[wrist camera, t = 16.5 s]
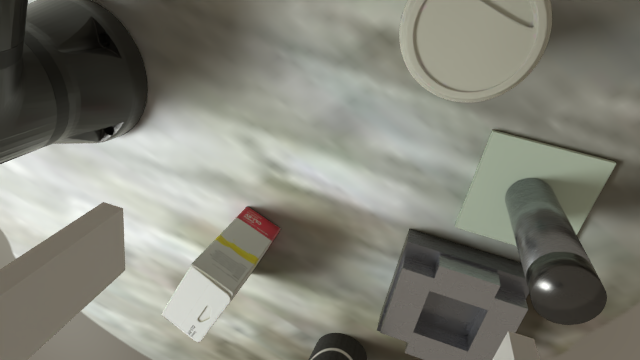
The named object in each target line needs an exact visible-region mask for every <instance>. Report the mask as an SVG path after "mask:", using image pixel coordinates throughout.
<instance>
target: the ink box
mask: <svg viewBox="0 0 640 360" xmlns="http://www.w3.org/2000/svg"><path fill="white" fill-rule="evenodd" d="M279 232H280V228H279V227H278V226H276V225H274V224H273V223H271V222H270V221H269V220H267V219H266V218H264V217H263V216H261V215H260V214H258V213H257V212H255V211H254V210H252V209H251V208H249V207H246V208H245V209H244V210H243V211H242V212H241V213H240V214H239V215H238V217H237V218H236V219H235V220H234V221H233V222H232V223H231V224H230V225H229V226H228V227H227V228H226V229H225V230H224V231H223V232H222V233H221V234H220V235H219V236H218V237H217V238H216V239H215V240H214V241H213V242H212V243H211V244H210V245H209V246H208V248H207V249H206V250H205V251H204V252H203V253H202V254H201V255H199V257H198V258H197V259H196V260H195V261H194V262H193V263H192V264H191V266H190V268H189V270H188V271H187V273H186V274H185V276H184V278H183V279H182V281H181V282H180V284H179V285H178V287H177V289H176V290H175V292H174V294H173V295H172V297H171V299H170V300H169V302H168V304H167V305H166V307H165V309H164V310H163V312H162V316H163V317H164V318H166V319H167V320H168V321H169V322H171V323H172V324H173V325H175V326H176V327H177V328H179V329H180V330H181V331H183V332H184V333H185V334H187V335H188V336H189V337H190V338H192V339H193V340H194V341H197V342H200V341H202V339H203V337H204V336H205V335H206V334H207V333H208V331H209V329H210V328H211V327H212V325H213V324H214V323H215V322H216V320H217V319H218V317H219V316H220V315H221V314H222V312H223V311H224V310H225V308H226V307H227V306H228V304H229V303H230V302H231V300H232V299H233V298H234V296H235V295H236V294H237V292H238V291H239V289H240V288H241V287H242V285H243V284H244V283H245V281H246V280H247V279H248V277H249V276H250V274H251V273H252V272H253V270H254V269H255V267H256V266H257V264H258V263H259V261H260V260H261V258H262V257H263V255H264V254H265V252H266V251H267V249H268V248H269V246H270V245H271V243H272V242H273V240H274V239H275V237H276V236H277V234H278V233H279Z"/></svg>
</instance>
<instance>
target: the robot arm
mask: <svg viewBox="0 0 640 360" xmlns="http://www.w3.org/2000/svg"><path fill="white" fill-rule="evenodd" d="M27 4H28V0H0V164H2V163H4V162H7V161H9V160H12V159H14V158H17V157H19V156H22V155H25V154H27V153H30V152H32V151H35V150H37V149H39V148H42V147H45V146H48V145H50V144H69V143H100V142H105V141H108V140H111V139H113V138H115V137H118V136H120V135H123V134H125V133H126V132H128V131H129V130H131V129H132V128H133V127H134V126H135V125H136V123H137V122H138V121H139V119H140V117H141V115H142V113H143V111H144V108H145V104H146V98H147V79H146V73H145V68H144V64H143V61H142V58H141V55H140V53H139V51H138V49H137V46H136V45H135V43H134V41H133V39H132V38H131V36H130V34H129V33H128V32H127V30H126V29H125V28H124V26H123V25H122V24H121V23H120V22H119V21H118V20H117V19H116V18H115V17H114V16H113V15H112V14H111V13H110V12H108V11H107V10H106V9H104V8H103V7H101V6H100V5H98V4H96V3H94V2H92V1H90V0H36V1H34V2H32V3H30V4H28V5H27ZM124 271H125V251H124V223H123V208H120V207H117V206H114V205H111V204H108V203H104V202H103V203H101V204H100V205H98V206H97V207H95V208H94V209H92V210H91V211H89V212H88V213H86V214H85V215H83V216H81V217H80V218H78V219H77V220H75V221H74V222H72V223H71V224H69V225H68V226H66V227H65V228H63V229H61V230H60V231H58V232H57V233H55V234H54V235H52V236H51V237H49V238H48V239H46V240H45V241H43V242H42V243H40V244H38V245H37V246H35V247H34V248H32V249H31V250H29V251H28V252H26V253H25V254H23V255H22V256H20V257H19V258H17V259H15V260H14V261H12V262H11V263H9V264H8V265H6V266H5V267H3V268H2V269H0V360H28V359H29V358H30V357H31V356H32V355H33V354H34V353H35V352H36V351H37V350H39V349H40V348H41V347H42V346H43V345H44V344H45V343H46V342H47V341H48V340H49V339H51V338H52V337H53V336H54V335H55V334H56V333H57V332H58V331H59V330H60V329H61V328H63V327H64V326H65V325H66V324H67V323H68V322H69V321H70V320H71V319H72V318H73V317H75V316H76V315H77V314H78V313H79V312H80V311H81V310H82V309H83V308H84V307H85V306H87V305H88V304H89V303H90V302H91V301H92V300H93V299H94V298H95V297H96V296H97V295H99V294H100V293H101V292H102V291H103V290H104V289H105V288H106V287H107V286H108V285H109V284H111V283H112V282H113V281H114V280H115V279H116V278H117V277H118V276H119V275H120V274H121V273H123V272H124ZM492 360H540V358H539V354H538V351H537V347H536V344H535V340H534V339H532V338H529V337H526V336H523V335H520V334H517V333H514V332H510V331H508V332H507V334H506V336H505V338H504V340H503V341H502V343H501V345H500V347H499V349H498V350H497V352H496V354H495V356H494V358H493V359H492Z"/></svg>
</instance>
